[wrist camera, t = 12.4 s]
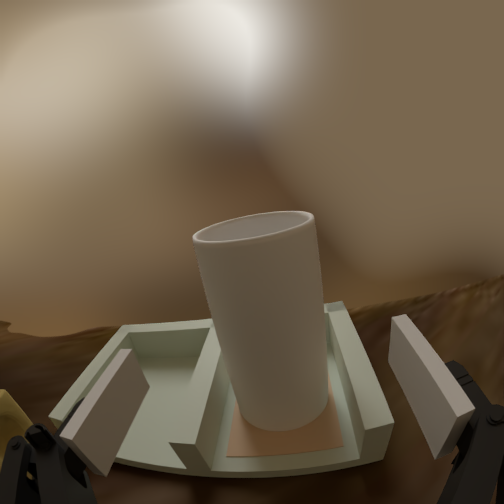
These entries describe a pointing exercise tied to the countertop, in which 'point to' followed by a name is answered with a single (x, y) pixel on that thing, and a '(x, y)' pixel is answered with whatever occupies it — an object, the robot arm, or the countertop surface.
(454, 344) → the countertop surface
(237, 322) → the cup
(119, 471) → the countertop surface
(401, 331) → the robot arm
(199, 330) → the tray
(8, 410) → the cheese
